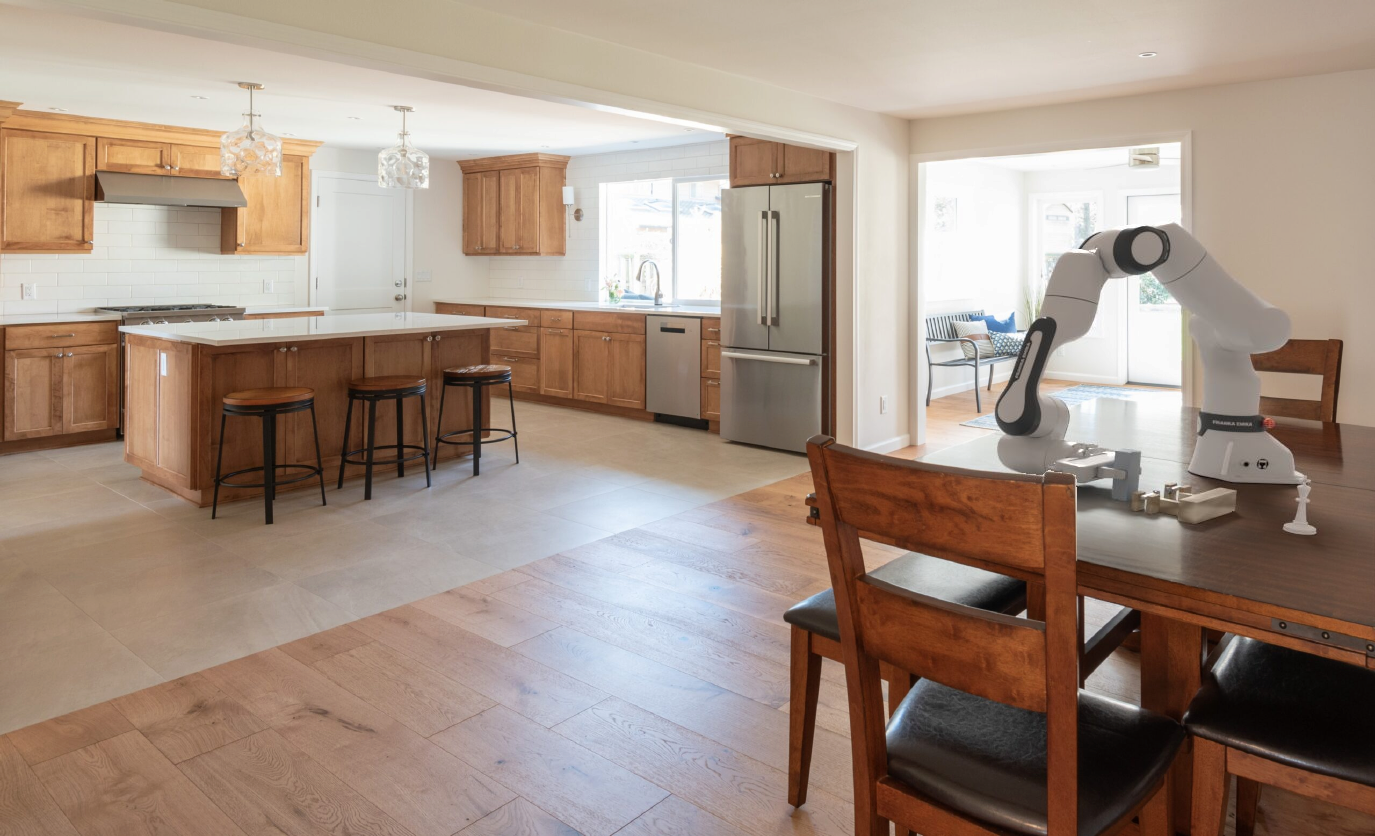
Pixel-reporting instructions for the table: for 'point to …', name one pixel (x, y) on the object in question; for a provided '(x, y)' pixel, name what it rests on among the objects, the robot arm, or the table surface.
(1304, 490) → the chess piece
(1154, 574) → the table surface
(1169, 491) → the plunger
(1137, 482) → the peg
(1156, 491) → the plunger
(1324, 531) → the table surface
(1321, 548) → the table surface
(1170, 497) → the light wooden frame
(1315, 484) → the table surface
